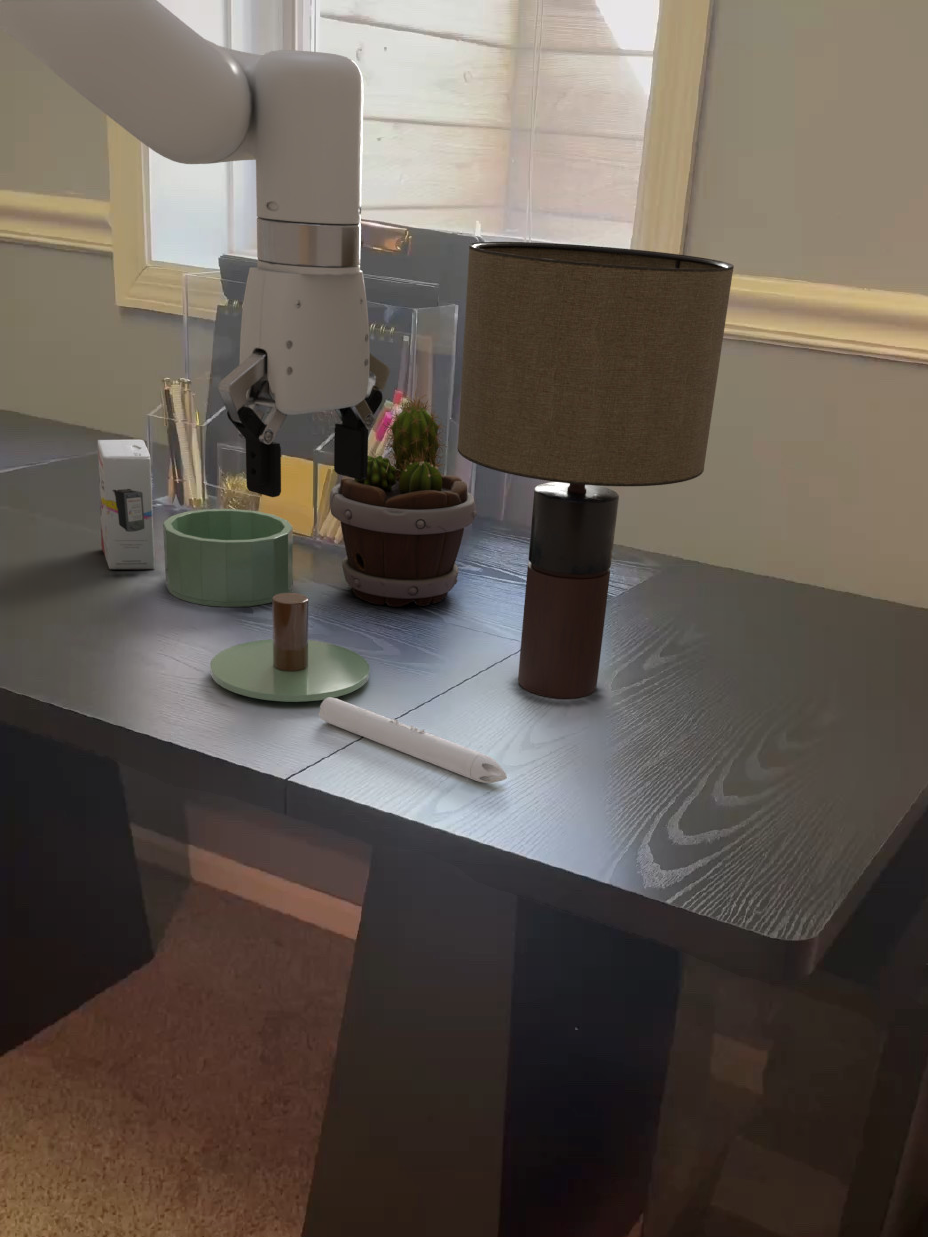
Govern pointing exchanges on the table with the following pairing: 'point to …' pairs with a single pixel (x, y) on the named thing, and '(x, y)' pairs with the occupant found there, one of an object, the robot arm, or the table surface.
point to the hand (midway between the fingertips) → (308, 484)
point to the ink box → (126, 504)
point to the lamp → (585, 413)
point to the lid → (289, 661)
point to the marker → (411, 741)
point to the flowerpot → (403, 517)
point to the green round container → (228, 557)
